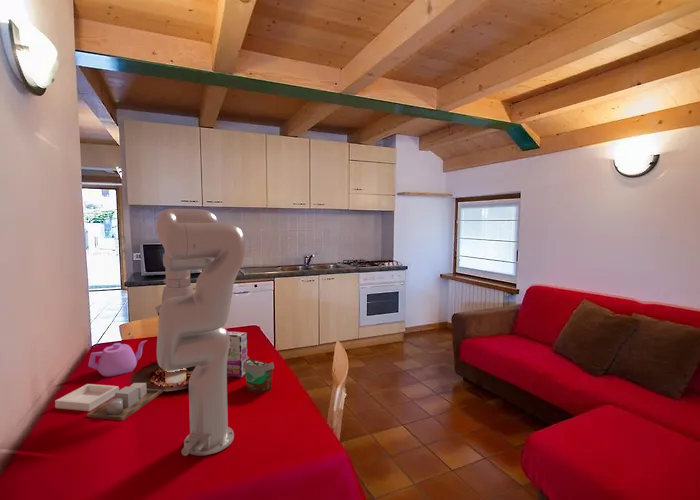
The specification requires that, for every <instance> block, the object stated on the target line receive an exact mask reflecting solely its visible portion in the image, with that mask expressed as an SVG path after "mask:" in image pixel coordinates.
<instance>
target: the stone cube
mask: <svg viewBox="0 0 700 500" xmlns="http://www.w3.org/2000/svg"><path fill="white" fill-rule="evenodd" d="M114 397H115V399H116V398H121V399H123V407H126V408H129V407H130V406H132V405H133V404H135V403H136V402H138V401H139V396H138V387H129V386H124V387H123V388H121V389H119V391H117V392H116V393H115V396H114Z"/></svg>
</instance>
